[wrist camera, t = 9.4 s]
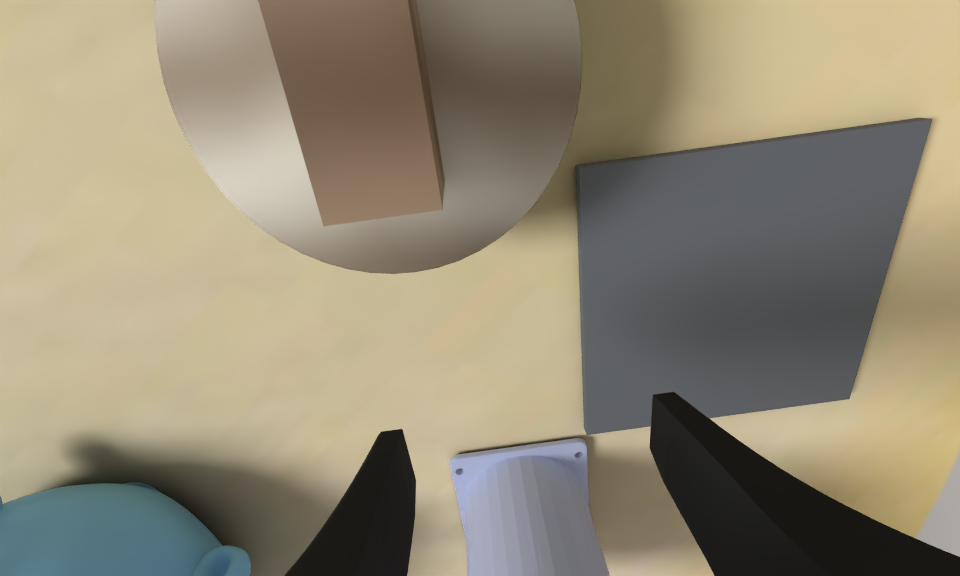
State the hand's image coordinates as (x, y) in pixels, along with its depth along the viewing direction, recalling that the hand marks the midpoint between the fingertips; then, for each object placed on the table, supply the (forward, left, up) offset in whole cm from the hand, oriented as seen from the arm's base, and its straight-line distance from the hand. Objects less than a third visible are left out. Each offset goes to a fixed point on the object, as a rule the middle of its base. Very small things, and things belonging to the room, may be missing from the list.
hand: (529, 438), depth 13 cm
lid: (+10, +3, -6) cm, 12 cm away
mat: (-2, -11, -10) cm, 15 cm away
